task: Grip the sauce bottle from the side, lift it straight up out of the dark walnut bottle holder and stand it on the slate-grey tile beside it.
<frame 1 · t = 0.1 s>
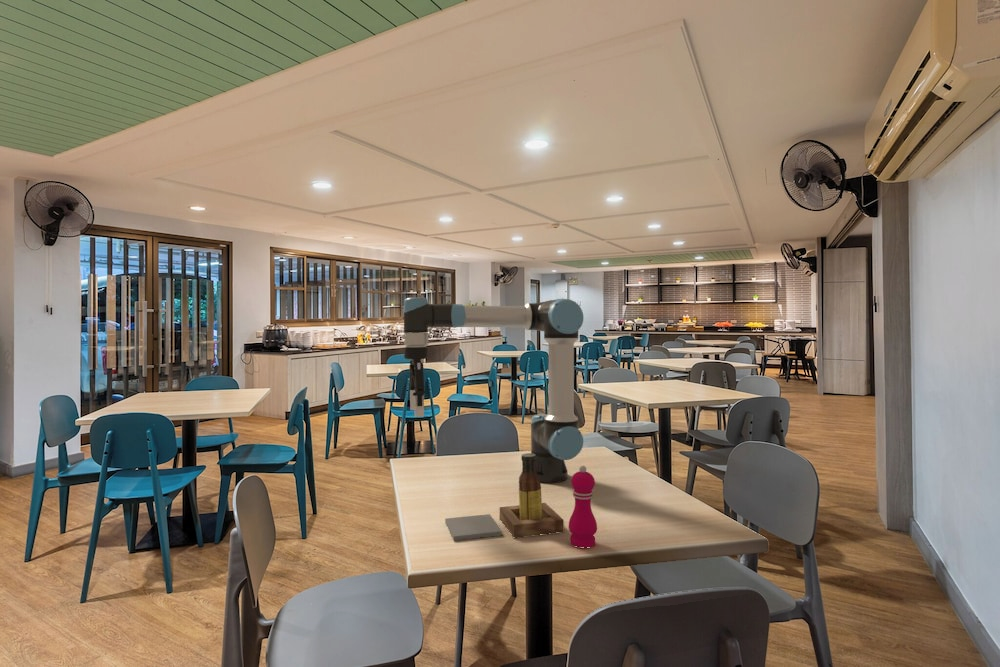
hand: (416, 413, 167), 28 cm above the table, tool pointing down, fingers open, 13 cm apart
slate tile: (472, 528, 144), on the table
bottle holder: (530, 525, 146), on the table
pepper mill: (582, 544, 134), on the table
sauce bottle: (530, 526, 146), resting in bottle holder
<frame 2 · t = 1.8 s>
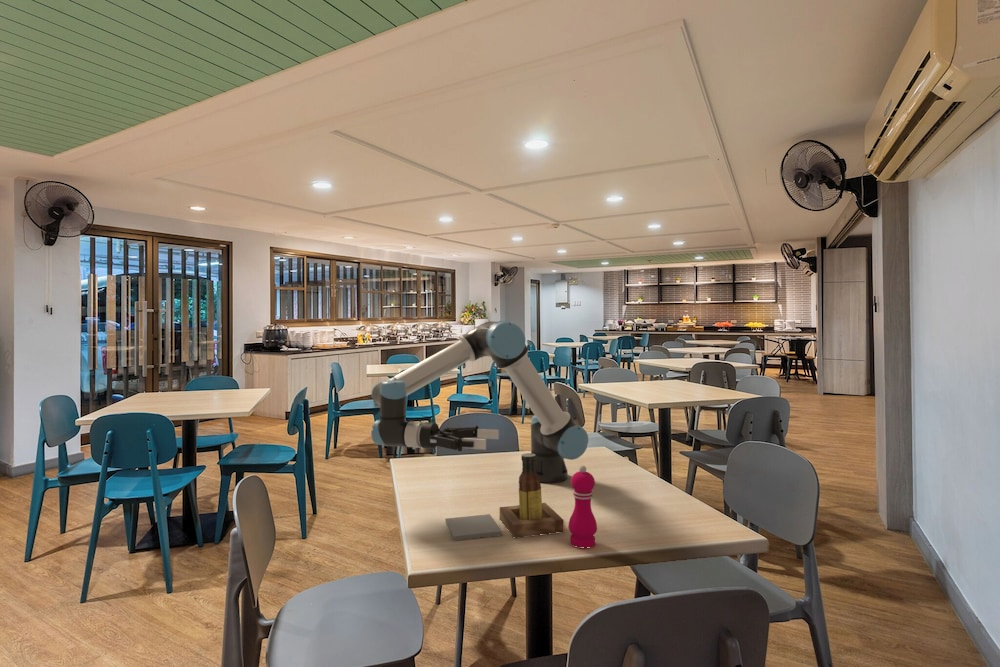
hand: (492, 439, 149), 23 cm above the table, tool horizontal, fingers open, 13 cm apart
nothing on the table moved.
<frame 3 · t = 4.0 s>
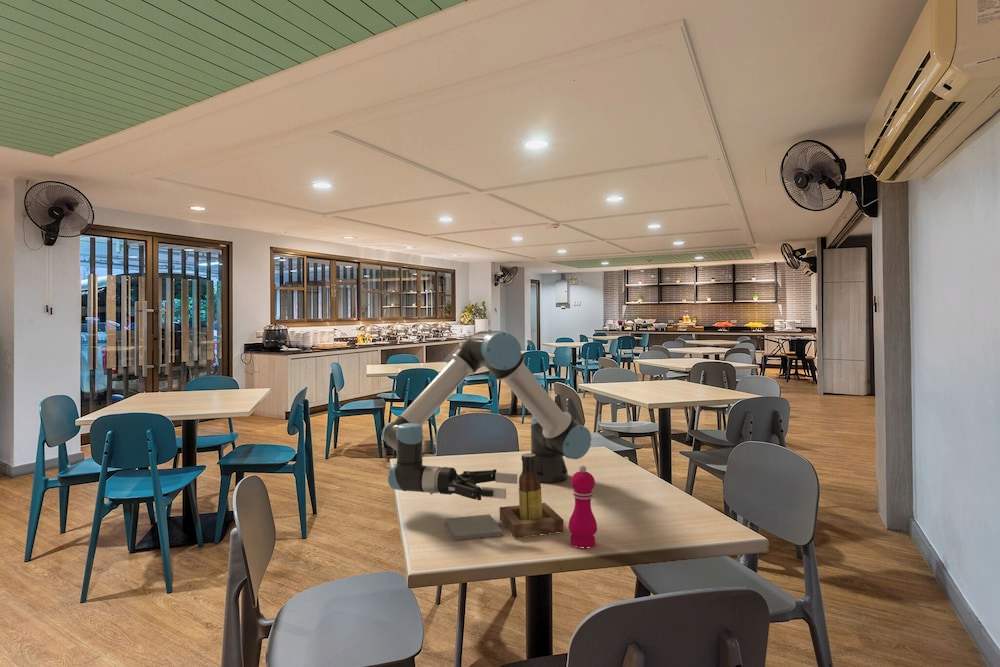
hand: (511, 485, 147), 11 cm above the table, tool horizontal, fingers open, 13 cm apart
nothing on the table moved.
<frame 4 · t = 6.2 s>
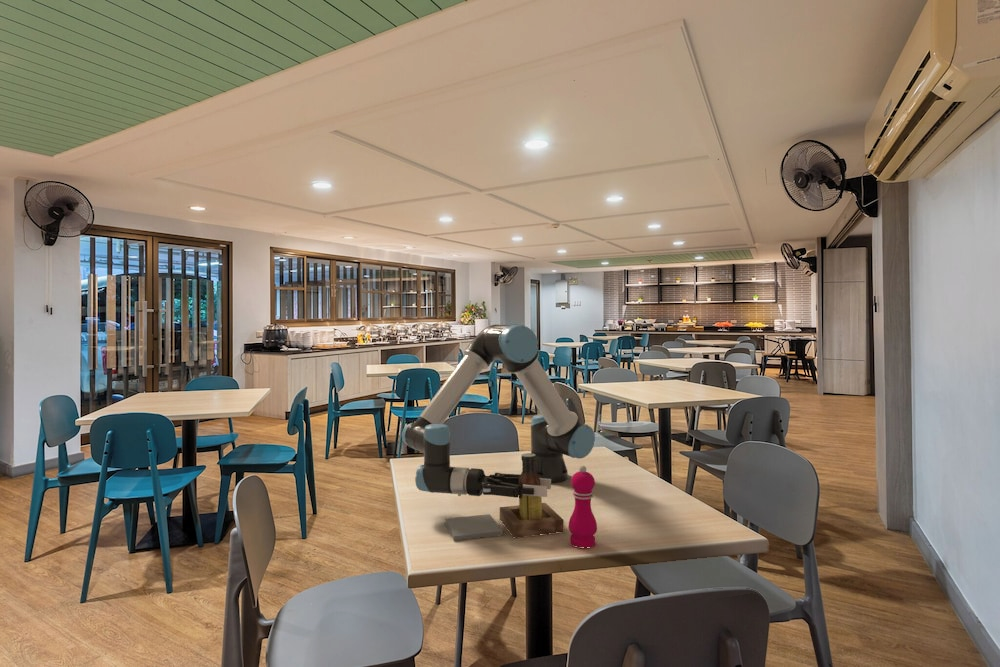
hand: (548, 487, 145), 11 cm above the table, tool horizontal, fingers closed on sauce bottle, 6 cm apart
sauce bottle: (530, 526, 146), resting in bottle holder, touching gripper
everything else where it was.
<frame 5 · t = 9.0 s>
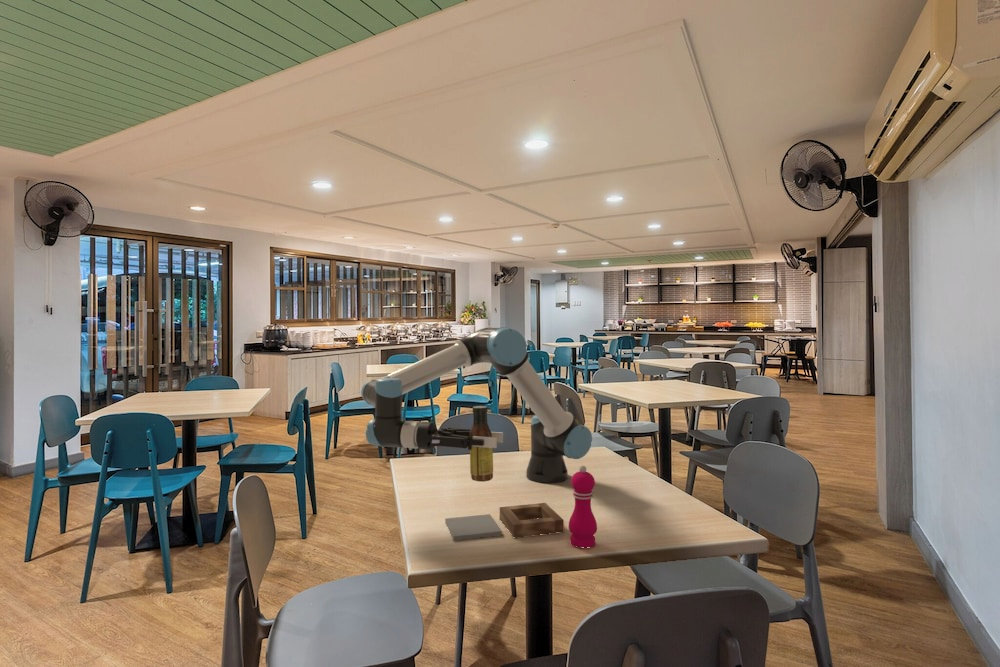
hand: (499, 440, 142), 25 cm above the table, tool horizontal, fingers closed on sauce bottle, 6 cm apart
sauce bottle: (481, 479, 144), point 14 cm above the table, touching gripper
everything else where it was.
when the fingers open (13 cm above the table, at t = 11.9 s): sauce bottle drops 1 cm, resting on slate tile.
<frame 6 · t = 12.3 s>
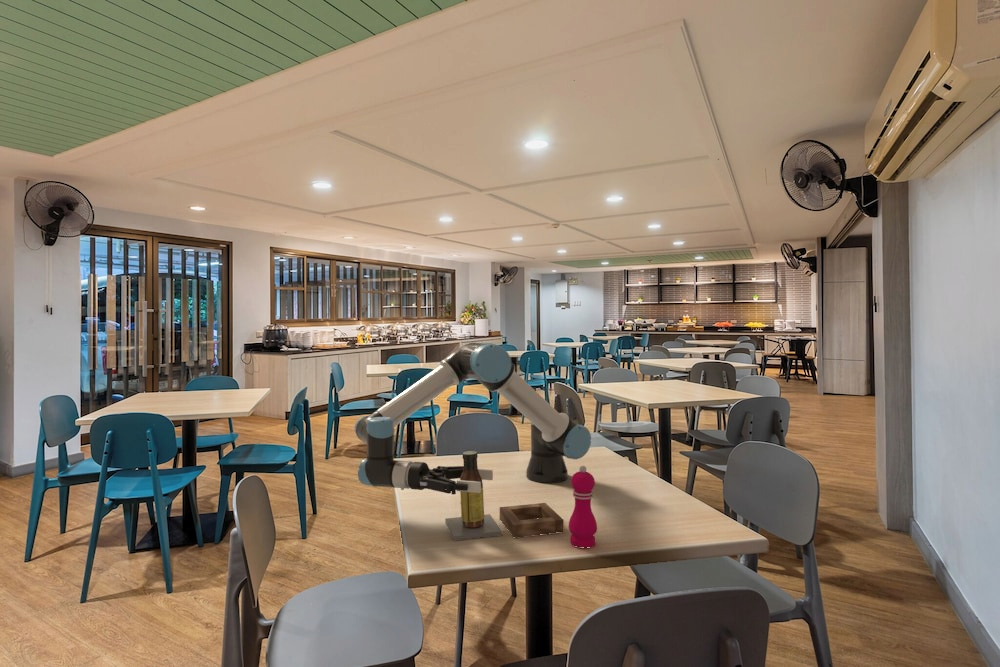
hand: (486, 481, 143), 13 cm above the table, tool horizontal, fingers open, 11 cm apart
sauce bottle: (472, 525, 144), point 1 cm above the table, touching slate tile
everything else where it was.
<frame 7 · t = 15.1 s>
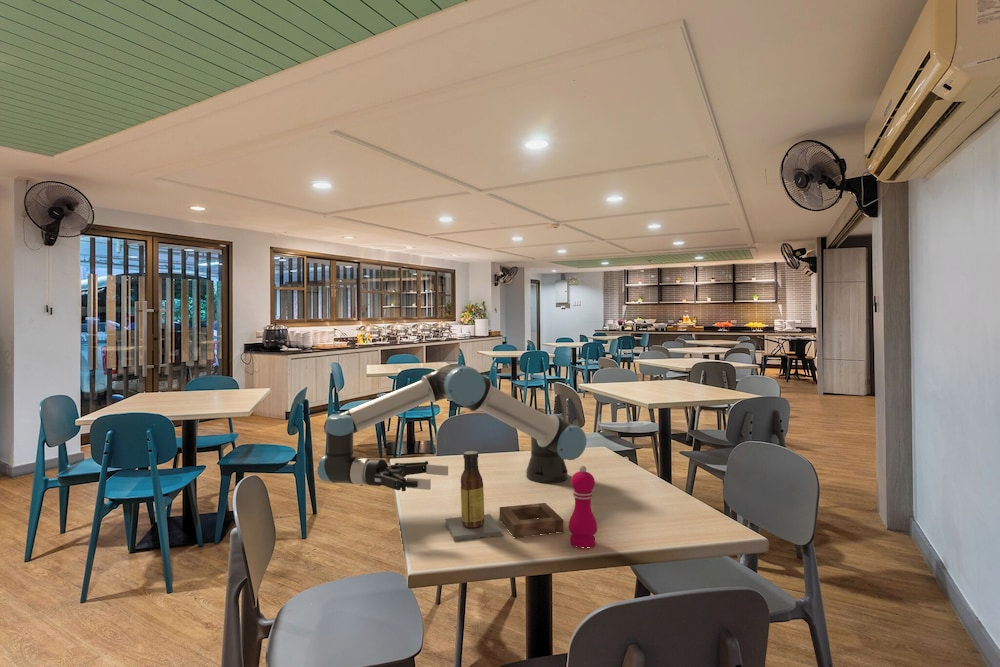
hand: (439, 477, 146), 14 cm above the table, tool horizontal, fingers open, 13 cm apart
nothing on the table moved.
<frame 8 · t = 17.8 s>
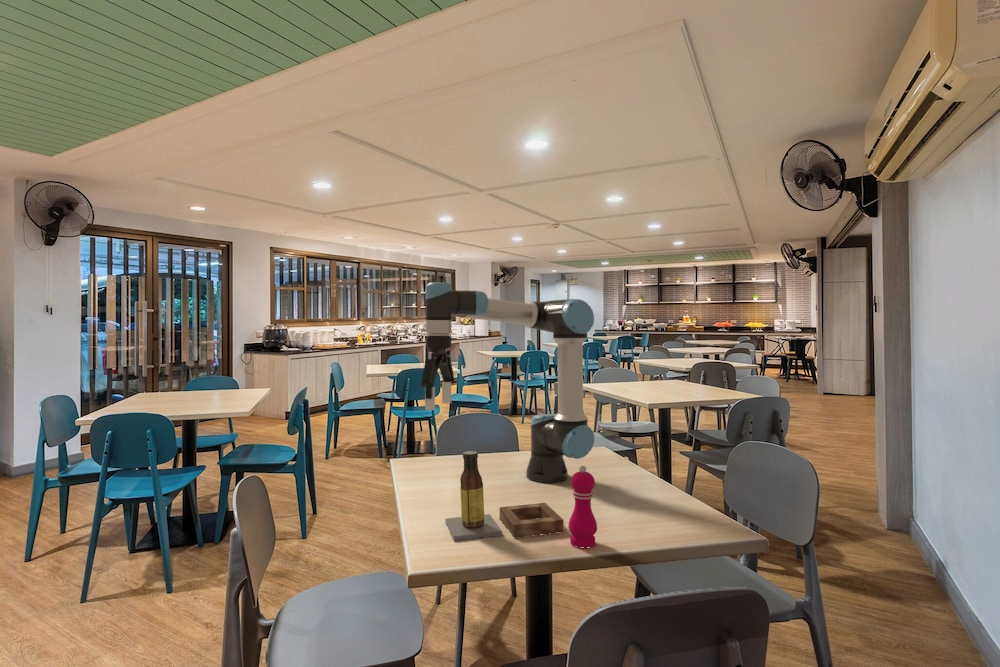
hand: (438, 406, 156), 32 cm above the table, tool pointing down, fingers open, 13 cm apart
nothing on the table moved.
at the end: sauce bottle inside the target area on the slate tile (0.1 cm from its centre), point 1.0 cm above the slate tile's base; sauce bottle tilted 0°; the gripper is holding nothing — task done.
